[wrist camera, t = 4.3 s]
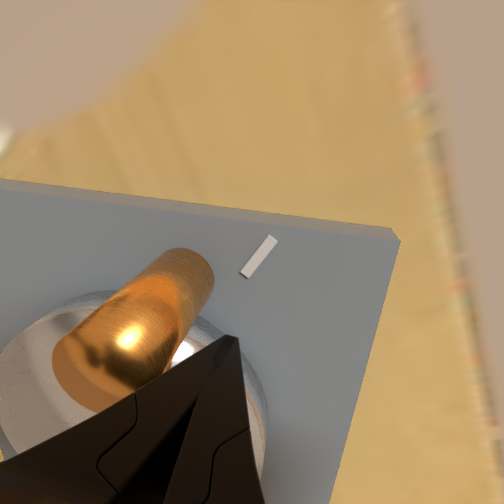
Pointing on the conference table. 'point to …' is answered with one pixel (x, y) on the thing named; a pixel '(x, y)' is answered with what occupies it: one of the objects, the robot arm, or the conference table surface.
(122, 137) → the conference table surface
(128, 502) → the robot arm
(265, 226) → the dial plate
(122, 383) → the dial
